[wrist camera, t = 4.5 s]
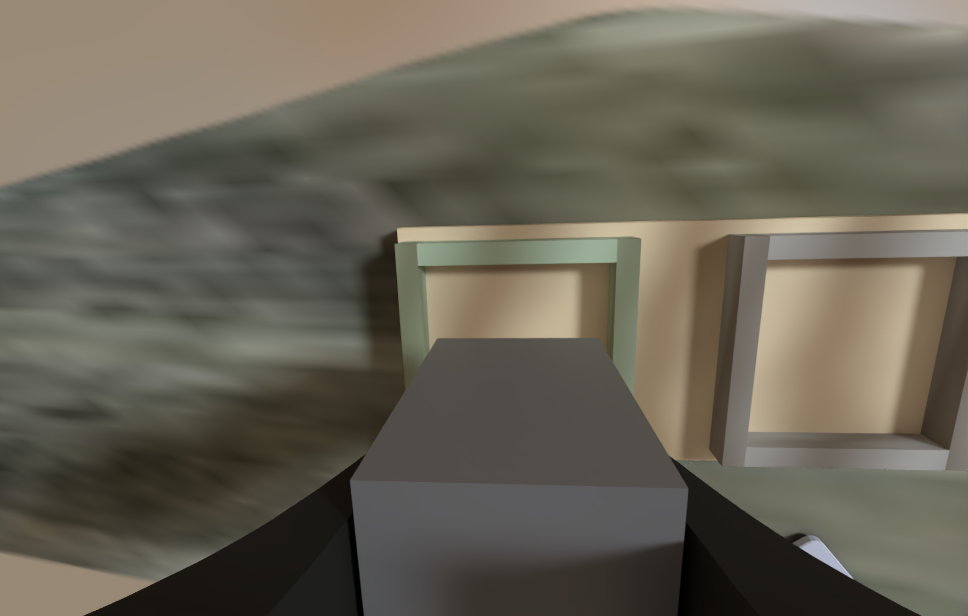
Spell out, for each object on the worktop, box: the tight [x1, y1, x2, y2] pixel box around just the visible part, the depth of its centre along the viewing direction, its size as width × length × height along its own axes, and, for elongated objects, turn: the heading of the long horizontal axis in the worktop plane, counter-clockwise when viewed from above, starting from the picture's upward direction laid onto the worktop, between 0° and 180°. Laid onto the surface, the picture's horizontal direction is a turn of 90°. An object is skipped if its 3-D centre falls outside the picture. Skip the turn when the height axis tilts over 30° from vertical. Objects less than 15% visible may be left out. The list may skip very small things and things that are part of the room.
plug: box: [350, 338, 688, 616], centre depth 9 cm, size 4×4×6 cm
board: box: [395, 213, 968, 471], centre depth 17 cm, size 21×10×2 cm, turn 91°
